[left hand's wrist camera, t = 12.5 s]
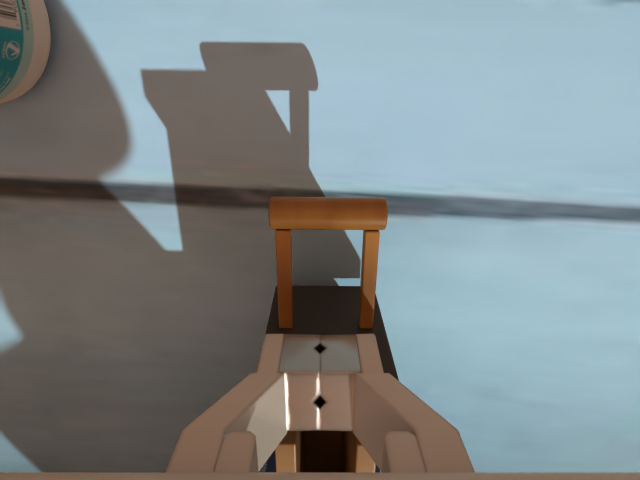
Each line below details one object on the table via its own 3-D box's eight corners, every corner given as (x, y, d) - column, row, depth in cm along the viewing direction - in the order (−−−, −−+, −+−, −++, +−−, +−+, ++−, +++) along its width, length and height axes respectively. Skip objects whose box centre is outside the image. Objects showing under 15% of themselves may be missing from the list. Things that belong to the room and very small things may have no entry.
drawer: (271, 176, 19) (239, 236, 11) (381, 177, 19) (422, 238, 11) (284, 502, 27) (270, 660, 20) (358, 502, 27) (373, 660, 20)
